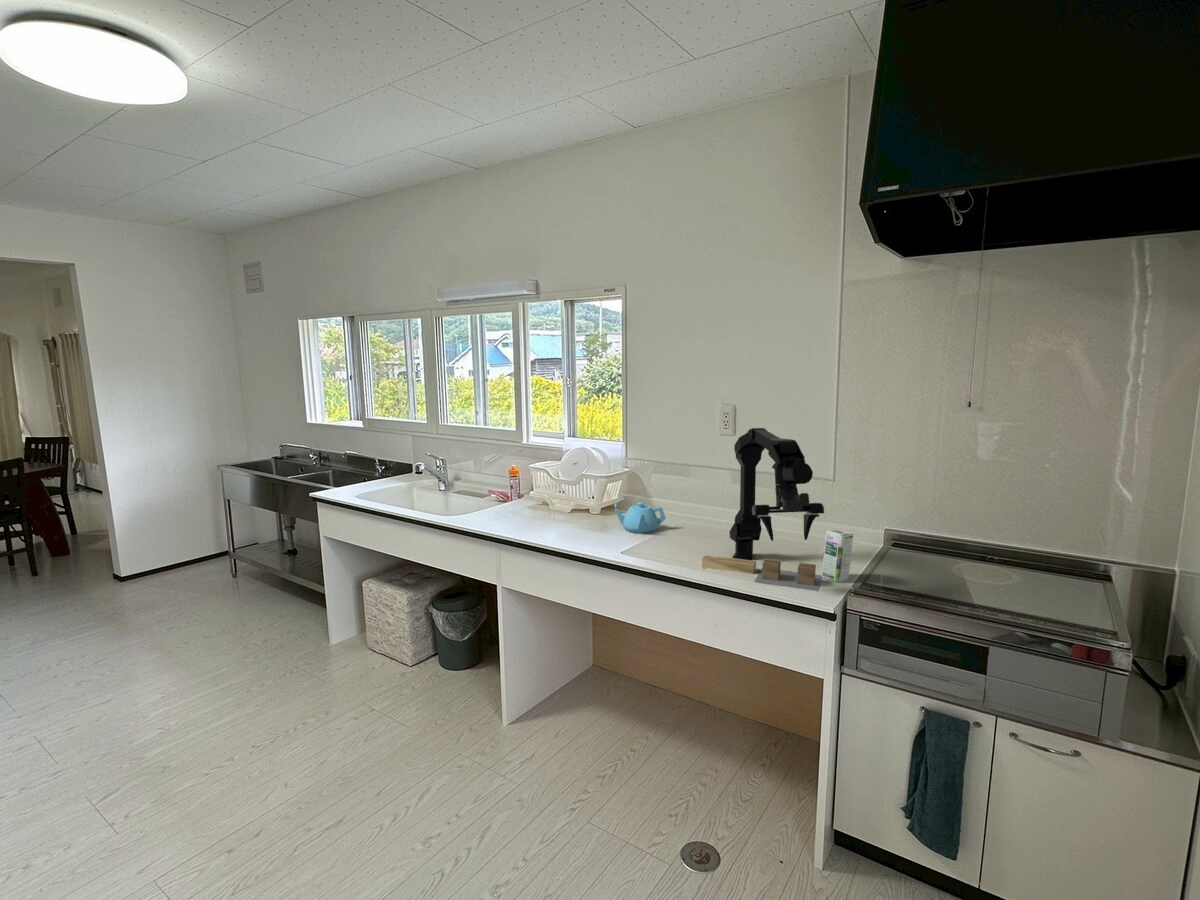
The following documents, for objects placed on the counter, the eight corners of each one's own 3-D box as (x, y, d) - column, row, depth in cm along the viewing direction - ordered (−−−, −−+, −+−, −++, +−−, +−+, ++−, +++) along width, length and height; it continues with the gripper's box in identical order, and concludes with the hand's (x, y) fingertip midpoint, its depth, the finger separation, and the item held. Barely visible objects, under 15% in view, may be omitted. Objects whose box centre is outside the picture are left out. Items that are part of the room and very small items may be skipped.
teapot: (641, 537, 228) (641, 509, 226) (612, 529, 239) (612, 502, 237) (667, 529, 238) (668, 502, 237) (639, 522, 249) (639, 496, 248)
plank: (704, 565, 197) (705, 555, 196) (755, 571, 191) (755, 560, 190) (701, 569, 193) (702, 558, 193) (753, 575, 187) (753, 564, 187)
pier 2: (799, 578, 183) (799, 562, 182) (815, 580, 181) (815, 564, 180) (797, 583, 178) (797, 567, 178) (813, 585, 177) (814, 569, 176)
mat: (762, 568, 193) (762, 567, 192) (822, 576, 185) (822, 575, 185) (754, 583, 180) (754, 582, 180) (818, 592, 173) (818, 591, 173)
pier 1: (764, 574, 187) (765, 558, 186) (780, 576, 185) (780, 560, 184) (762, 578, 183) (762, 562, 182) (777, 580, 181) (778, 564, 180)
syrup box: (820, 577, 184) (825, 530, 181) (832, 573, 187) (837, 527, 185) (837, 583, 179) (842, 535, 177) (849, 579, 182) (854, 532, 180)
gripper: (757, 485, 165) (760, 544, 164) (828, 483, 163) (831, 541, 162) (750, 485, 176) (753, 540, 175) (816, 483, 174) (820, 538, 173)
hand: (788, 540), depth 171 cm, fingers open, 9 cm apart
